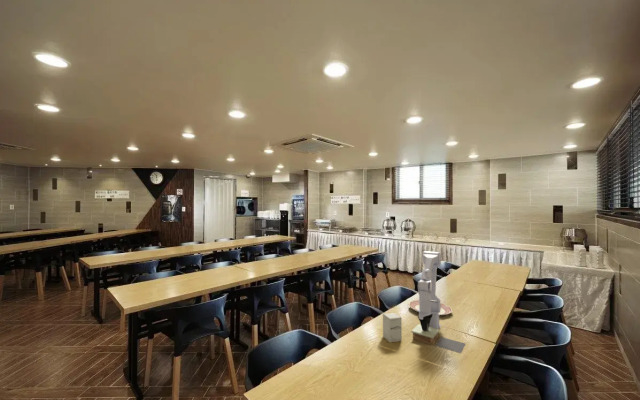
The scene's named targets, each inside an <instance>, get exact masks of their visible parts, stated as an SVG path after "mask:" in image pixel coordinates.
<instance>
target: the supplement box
mask: <svg viewBox="0 0 640 400" xmlns="http://www.w3.org/2000/svg"><path fill="white" fill-rule="evenodd" d="M402 331H403V330H402V316H400V315H398V314H397V313H395V312H390V313H382V336H383V338H384V339H385V340H386V341H387V342H389V343H394V342H395V343H396V342H402V339H403V338H402V337H403V336H402V334H403V332H402Z"/></svg>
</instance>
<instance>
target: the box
mask: <svg viewBox="0 0 640 400" xmlns="http://www.w3.org/2000/svg"><path fill="white" fill-rule="evenodd" d="M438 338H439V332H438V333H437V334H436V335H435V337H434V338H430V337H426V336H423V335H419V334H416V333H412V340H415V341H418V342H420V343H425V344H426V345H430V346H433V345H435V344H436V342H437V341H438V340H439V339H438Z"/></svg>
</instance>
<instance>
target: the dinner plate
mask: <svg viewBox="0 0 640 400" xmlns="http://www.w3.org/2000/svg"><path fill="white" fill-rule="evenodd" d="M440 304H441V310H440V312H439V317H440V315H441V316H445V315H446V316H447V315H449V314H451V313H452V312H453V309H452V308H451V307H450V306H449V305H446V304H445V303H441V302H440ZM408 306H409V307H410V309H412V310H413V311H416V312H417V310H418V309H419V299H418V300H411V301H410V302H409V303H408Z"/></svg>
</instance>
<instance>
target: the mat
mask: <svg viewBox="0 0 640 400" xmlns="http://www.w3.org/2000/svg"><path fill="white" fill-rule="evenodd" d="M434 346H435V347H438V348H440V349H441V348H442V349H444V350H447V351H448V350H449V351H452V352H455V353H458V354H462V351H463V350H464V348H465V346H466V342H461V341H457V340H454V339H450V338H447V337H443V336H440V338H439V339H437V341H436V342H435V343H434Z"/></svg>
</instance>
